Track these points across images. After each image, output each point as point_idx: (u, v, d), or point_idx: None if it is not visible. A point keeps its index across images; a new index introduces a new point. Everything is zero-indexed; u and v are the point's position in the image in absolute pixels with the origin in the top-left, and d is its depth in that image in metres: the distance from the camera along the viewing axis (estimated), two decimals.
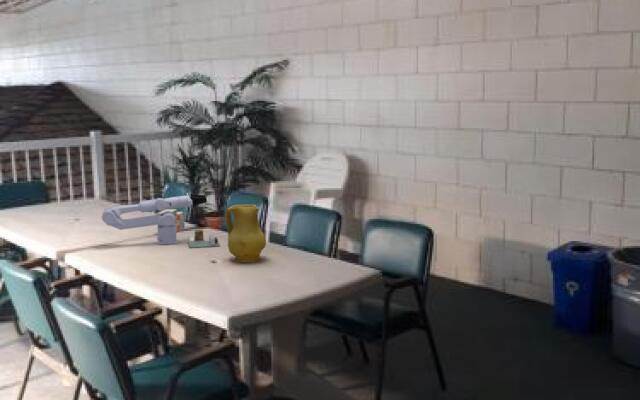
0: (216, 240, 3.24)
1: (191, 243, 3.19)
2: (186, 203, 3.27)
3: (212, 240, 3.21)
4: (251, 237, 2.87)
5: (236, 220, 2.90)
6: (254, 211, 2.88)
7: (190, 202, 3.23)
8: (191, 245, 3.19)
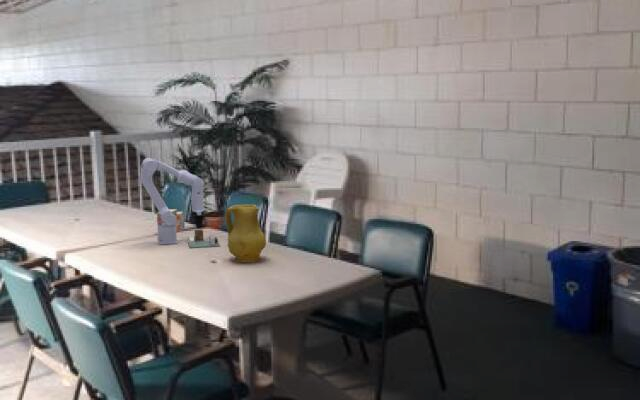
0: (216, 240, 3.24)
1: (191, 243, 3.19)
2: (196, 208, 3.31)
3: (212, 240, 3.21)
4: (251, 237, 2.87)
5: (236, 220, 2.90)
6: (254, 211, 2.88)
7: (199, 213, 3.27)
8: (191, 245, 3.19)
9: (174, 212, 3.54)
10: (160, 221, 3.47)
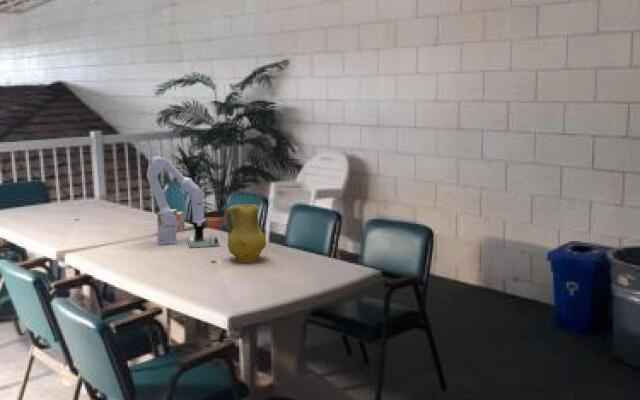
0: (216, 240, 3.24)
1: (191, 243, 3.19)
2: (197, 219, 3.32)
3: (212, 240, 3.21)
4: (251, 237, 2.87)
5: (236, 220, 2.90)
6: (254, 211, 2.88)
7: (200, 224, 3.28)
8: (191, 245, 3.19)
9: (174, 212, 3.54)
10: (160, 221, 3.47)
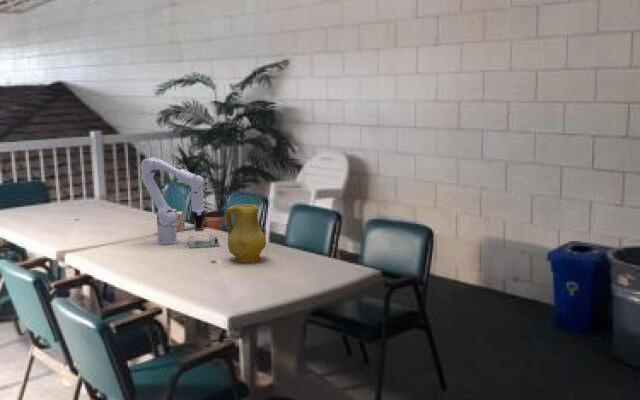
0: (216, 240, 3.24)
1: (191, 243, 3.19)
2: (196, 208, 3.23)
3: (212, 240, 3.21)
4: (251, 237, 2.87)
5: (236, 220, 2.90)
6: (254, 211, 2.88)
7: (199, 213, 3.19)
8: (191, 245, 3.19)
9: None
10: None
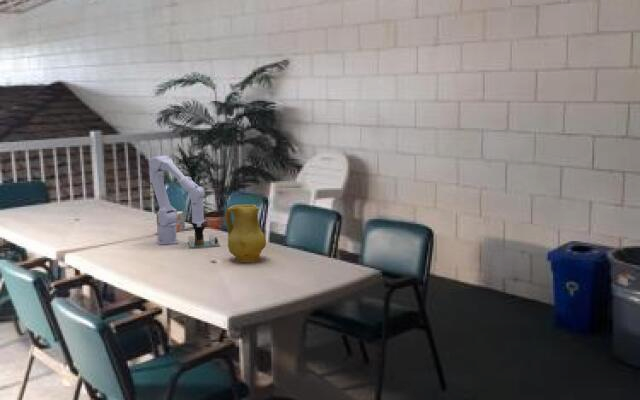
0: (216, 240, 3.24)
1: (191, 243, 3.19)
2: (196, 219, 3.20)
3: (212, 240, 3.21)
4: (251, 237, 2.87)
5: (236, 220, 2.90)
6: (254, 211, 2.88)
7: (199, 224, 3.16)
8: (191, 245, 3.19)
9: None
10: None
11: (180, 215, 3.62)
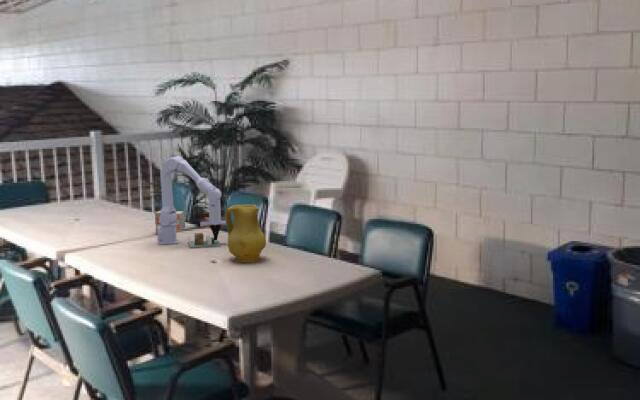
0: (213, 240, 3.24)
1: (191, 243, 3.19)
2: None
3: (209, 240, 3.21)
4: (251, 237, 2.87)
5: (236, 220, 2.90)
6: (254, 211, 2.88)
7: (200, 224, 3.23)
8: (191, 245, 3.19)
9: None
10: (158, 220, 3.49)
11: (180, 215, 3.63)
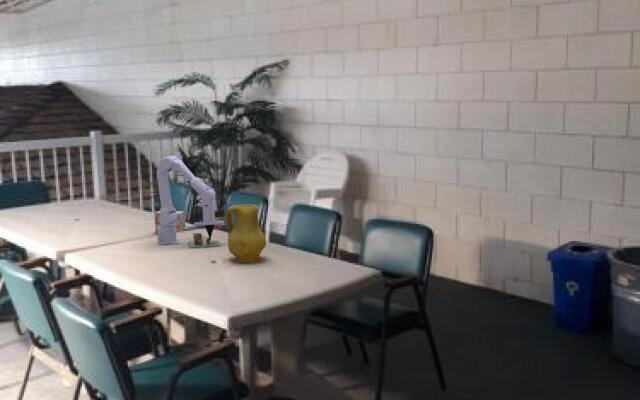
0: (208, 241, 3.23)
1: (191, 243, 3.19)
2: None
3: (204, 241, 3.20)
4: (251, 237, 2.87)
5: (236, 220, 2.90)
6: (254, 211, 2.88)
7: (194, 224, 3.22)
8: (191, 245, 3.19)
9: None
10: (157, 220, 3.49)
11: (180, 215, 3.63)
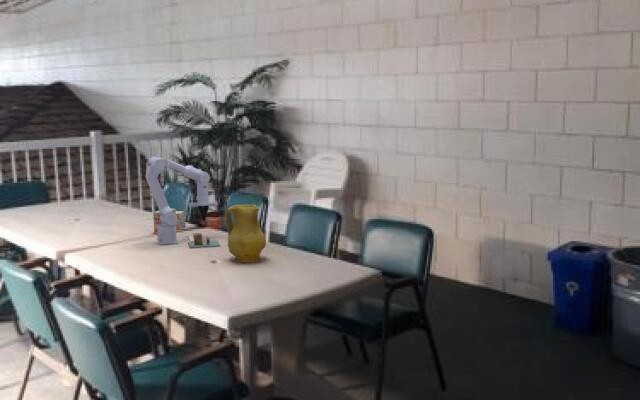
0: (208, 240, 3.23)
1: (191, 243, 3.19)
2: None
3: (204, 240, 3.20)
4: (251, 237, 2.87)
5: (236, 220, 2.90)
6: (254, 211, 2.88)
7: (189, 205, 3.36)
8: (191, 245, 3.19)
9: None
10: (156, 220, 3.50)
11: (180, 215, 3.63)
